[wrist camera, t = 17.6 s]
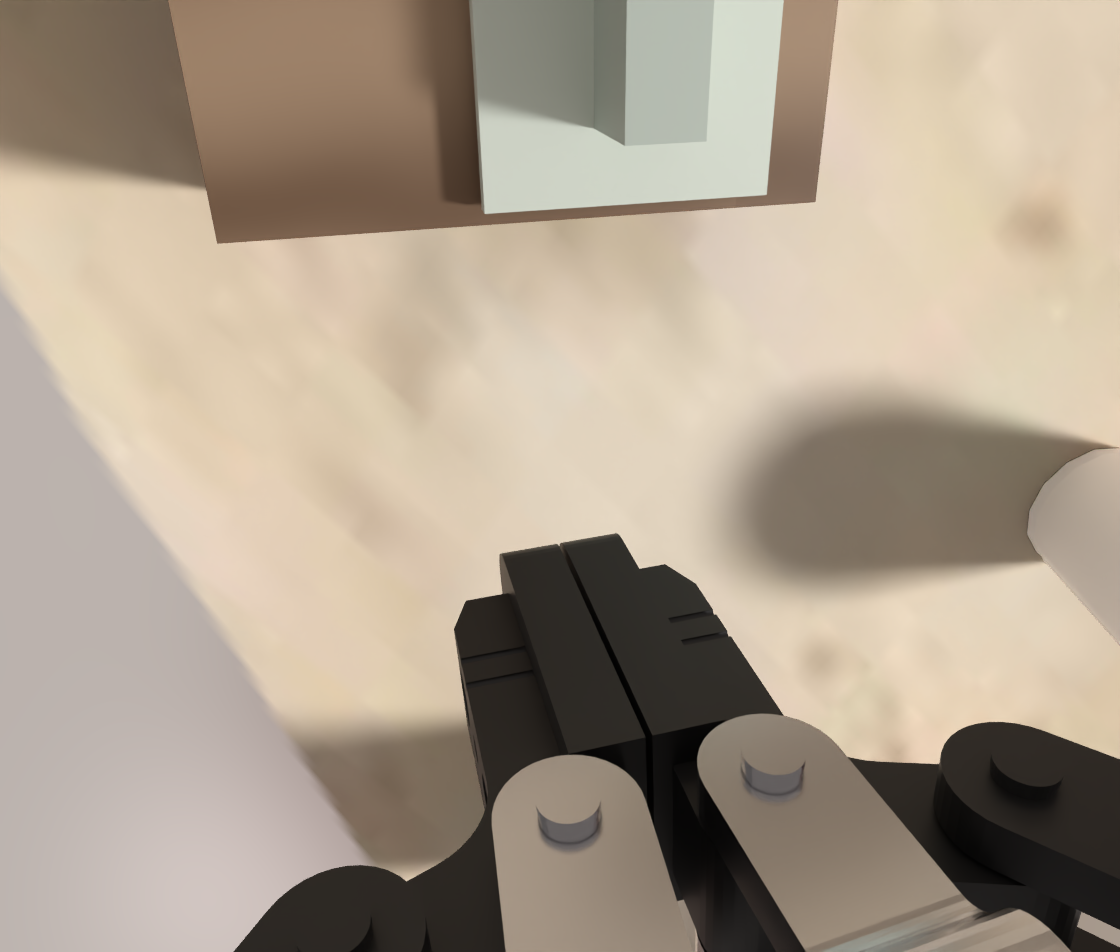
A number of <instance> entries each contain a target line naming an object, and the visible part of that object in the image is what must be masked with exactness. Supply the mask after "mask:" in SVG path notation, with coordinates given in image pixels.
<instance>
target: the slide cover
mask: <svg viewBox="0 0 1120 952" xmlns="http://www.w3.org/2000/svg"><path fill="white" fill-rule="evenodd" d="M783 3H784V0H469V8H470V24H471V41H472V57H473V74H474V90H475V107H476V123H477V139H478V156H479V172H480V189H481V205H482V210H483V212H484V214H492V213H507V212H522V211H536V210H551V209H566V208H581V207H596V206H611V205H626V204H640V203H655V202H670V201H685V200H700V199H715V198H730V197H745V196H759V195H767V185H768V173H769V162H770V151H771V139H772V128H773V117H774V105H775V94H776V82H777V71H778V60H779V48H780V37H781V26H782V14H783Z"/></svg>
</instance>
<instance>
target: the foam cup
mask: <svg viewBox="0 0 1120 952" xmlns="http://www.w3.org/2000/svg"><path fill="white" fill-rule="evenodd" d="M1027 535H1028V537H1029V539H1030V541H1031V543H1032V545H1033V546H1034V548H1035V550H1036V552H1037V553H1038V554H1040V555H1041V557H1042V558H1043V560H1044V561H1045V563H1046V564H1047V565H1048V566H1049V567H1050V568H1051V569H1052V570H1053V572H1054V573H1055V574H1056V575H1057V576H1058V577H1059V578H1060V579H1061V580H1062V582H1063V583H1064V584H1065V585H1066V586H1067V587H1068V588H1069V589H1070V591H1071V592H1072V593H1073V594H1074V595H1075V596H1076V597H1077V598H1078V600H1079V601H1080V602H1081V603H1082V604H1083V605H1084V606H1085V607H1086V608H1087V610H1088V611H1089V612H1090V613H1091V614H1092V615H1093V616H1094V617H1095V619H1096V620H1097V621H1098V622H1099V623H1100V624H1101V625H1102V626H1103V627H1104V629H1105V630H1106V631H1107V632H1108V633H1109V634H1110V635H1111V636H1112V638H1113V639H1114V640H1115V641H1116V642H1117V643H1118V644H1119V645H1120V448H1111V449H1095V450H1092V451H1090V452H1088V453H1086V454H1084V455H1082V456H1080V457H1078V458H1076V459H1074V460H1071V461H1069V462H1067V463H1066V464H1065V465H1064V466H1063V467H1062V468H1061V469H1060V470H1059V471H1058V472H1056V473H1055V474H1054V475H1053V476H1052V477H1051V478H1050V479H1049V480H1048V481H1047V482H1046V483H1045V484H1044V485H1043V487H1042V488H1041V490H1040V492H1039V494H1038V496H1037V498H1036V499H1035V501H1034V503H1033V505H1032V507H1031V508H1030V511H1029V520H1028V530H1027Z"/></svg>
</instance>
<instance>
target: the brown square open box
mask: <svg viewBox="0 0 1120 952" xmlns="http://www.w3.org/2000/svg"><path fill="white" fill-rule="evenodd" d="M168 3H169V8H170V13H171V18H172V23H173V28H174V33H175V38H176V43H177V47H178V52H179V57H180V62H181V67H182V72H183V77H184V82H185V87H186V92H187V97H188V102H189V107H190V111H191V116H192V121H193V126H194V131H195V136H196V141H197V146H198V151H199V156H200V161H201V166H202V170H203V175H204V180H205V185H206V190H207V195H208V200H209V205H210V210H211V215H212V220H213V225H214V230H215V234H216V239H217V244H218V243H233V242H247V241H262V240H276V239H291V238H305V237H319V236H334V235H348V234H363V233H377V232H391V231H406V230H420V229H435V228H449V227H463V226H478V225H492V224H507V223H521V222H535V221H550V220H564V219H579V218H593V217H607V216H622V215H636V214H651V213H665V212H679V211H694V210H708V209H723V208H737V207H751V206H766V205H780V204H795V203H809V202H815V200H816V191H817V182H818V173H819V165H820V156H821V147H822V138H823V129H824V121H825V112H826V103H827V94H828V86H829V77H830V68H831V59H832V50H833V42H834V33H835V24H836V15H837V6H838V0H784V3H783V14H782V26H781V37H780V48H779V60H778V71H777V82H776V94H775V105H774V117H773V128H772V139H771V151H770V162H769V173H768V185H767V195H759V196H745V197H730V198H715V199H700V200H685V201H670V202H655V203H640V204H626V205H611V206H596V207H581V208H566V209H551V210H536V211H522V212H507V213H492V214H484V212H483V210H482V205H481V189H480V172H479V156H478V139H477V123H476V107H475V90H474V74H473V57H472V41H471V24H470V8H469V0H168Z"/></svg>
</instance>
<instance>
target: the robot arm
mask: <svg viewBox="0 0 1120 952" xmlns="http://www.w3.org/2000/svg"><path fill="white" fill-rule="evenodd" d="M500 574H501V583H502V592H503V594H501V595H496V596H490V597H485V598H479V599H474V600H468V601H466V602H465V604H464V607H463V609H462V611H461V614H460V616H459V619H458V621H457V623H456V626H455V628H454V632H455V639H456V646H457V653H458V660H459V667H460V675H461V682H462V689H463V696H464V703H465V710H466V717H467V724H468V730H469V734H470V739H471V744H472V749H473V754H474V758H475V764H476V769H477V774H478V779H479V784H480V788H481V794H482V798H483V803H484V808H485V812H484V815H483V817H482V819H481V821H480V824H479V826H478V827H477V829H476V830H475V832H474V833H473V834H472V836H471V837H470V838H469V839H468V840H467V842H466V843H465V844H464V845H463V846H462V847H461V848H460V849H459V850H457V851H456V852H455V853H454V854H452V855H451V856H450V857H449V858H447V859H445V860H444V861H442V862H441V863H439V864H438V865H436V866H434V867H432V868H431V869H429V870H427V871H425V872H423V873H421V874H420V875H418V876H416V877H414V878H412V879H411V880H409V881H407V882H406V881H405V880H404V879H402V878H401V877H400V876H398V875H396V874H394V873H392V872H390V871H388V870H385V869H381V868H378V867H373V866H363V865H359V866H345V867H339V868H334V869H331V870H327V871H324V872H321V873H318V874H316V875H314V876H313V877H310V878H308V879H306V880H304V881H302V882H301V883H299V884H298V885H296V886H294V887H293V888H292V889H290V890H289V891H288V892H287V893H285V894H284V895H283V896H282V897H280V898H279V899H278V900H277V901H276V902H275V903H274V905H272V906H271V908H270V909H269V910H268V911H267V912H266V913H265V914H264V916H263V917H262V918H261V919H260V920H259V922H258V923H257V924H256V925H255V927H254V928H253V929H252V930H251V931H250V933H249V934H248V935H247V936H246V937H245V939H244V940H243V941H242V942H241V943H240V945H239V946H238V947H237V948H236V949H235V951H234V952H1120V947H1117V946H1116V945H1114V944H1111V943H1109V942H1107V941H1105V940H1103V939H1101V938H1099V937H1097V936H1095V935H1093V934H1091V933H1089V932H1087V931H1084V930H1082V929H1080V928H1078V927H1077V925H1078V921H1079V918H1080V915H1081V912H1083V913H1085V914H1088V915H1090V916H1092V917H1094V918H1096V919H1098V920H1101V921H1103V922H1105V923H1107V924H1109V925H1111V926H1113V927H1115V928H1117V929H1120V759H1117V758H1114V757H1112V756H1109V755H1106V754H1104V753H1101V752H1098V751H1096V750H1093V749H1090V748H1088V747H1085V746H1082V745H1080V744H1077V743H1074V742H1072V741H1069V740H1066V739H1064V738H1061V737H1058V736H1056V735H1053V734H1050V733H1048V732H1045V731H1042V730H1039V729H1036V728H1033V727H1029V726H1025V725H1020V724H1015V723H1006V722H987V723H979V724H975V725H971V726H967V727H965V728H963V729H961V730H959V731H957V732H956V733H954V734H953V735H952V736H951V737H950V738H949V739H948V740H947V742H946V743H945V744H944V747H943V749H942V752H941V757H940V763H939V764H919V763H895V762H875V761H865V760H859V759H854V758H849V757H847V756H846V755H845V754H844V752H843V751H842V750H841V749H840V748H839V746H838V745H837V744H836V743H835V742H834V741H833V740H832V739H831V738H830V737H828V736H827V735H826V734H825V733H823V732H822V731H821V730H819V729H817V728H815V727H813V726H812V725H810V724H808V723H805V722H803V721H800V720H798V719H794V718H791V717H787V716H784V715H783V714H782V712H781V711H780V709H779V708H778V706H777V705H776V703H775V702H774V700H773V699H772V697H771V696H770V694H769V693H768V691H767V690H766V688H765V687H764V685H763V684H762V682H761V681H760V679H759V678H758V676H757V675H756V673H755V672H754V670H753V669H752V667H751V666H750V664H749V663H748V661H747V660H746V658H745V657H744V655H743V654H742V652H741V651H740V649H739V648H738V646H737V645H736V643H735V642H734V640H733V639H732V637H731V636H730V637H728V634H727V630H726V628H725V627H724V625H723V624H722V622H721V621H720V619H719V618H718V616H717V615H714V614H713V609H712V608H711V606H710V605H709V603H708V602H707V600H706V599H705V597H704V596H703V594H702V593H701V591H700V590H699V588H698V587H697V585H696V584H695V583H694V582H692V581H691V580H689V579H687V578H686V577H684V576H683V575H681V574H679V573H678V572H676V571H675V570H673V569H672V568H670V567H668V566H667V565H665V564H664V565H659V566H653V567H648V568H642V569H639V568H638V566H637V564H636V562H635V561H634V559H633V557H632V555H631V554H630V552H629V550H628V549H627V547H626V545H625V543H624V542H623V540H622V538H621V537H620V536H619V535H618V534H610V535H604V536H598V537H593V538H587V539H581V540H575V541H570V542H564V543H561V544H560V546H558V545H557V544H554V545H548V546H542V547H537V548H531V549H525V550H519V551H514V552H508V553H502V554H500Z"/></svg>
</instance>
